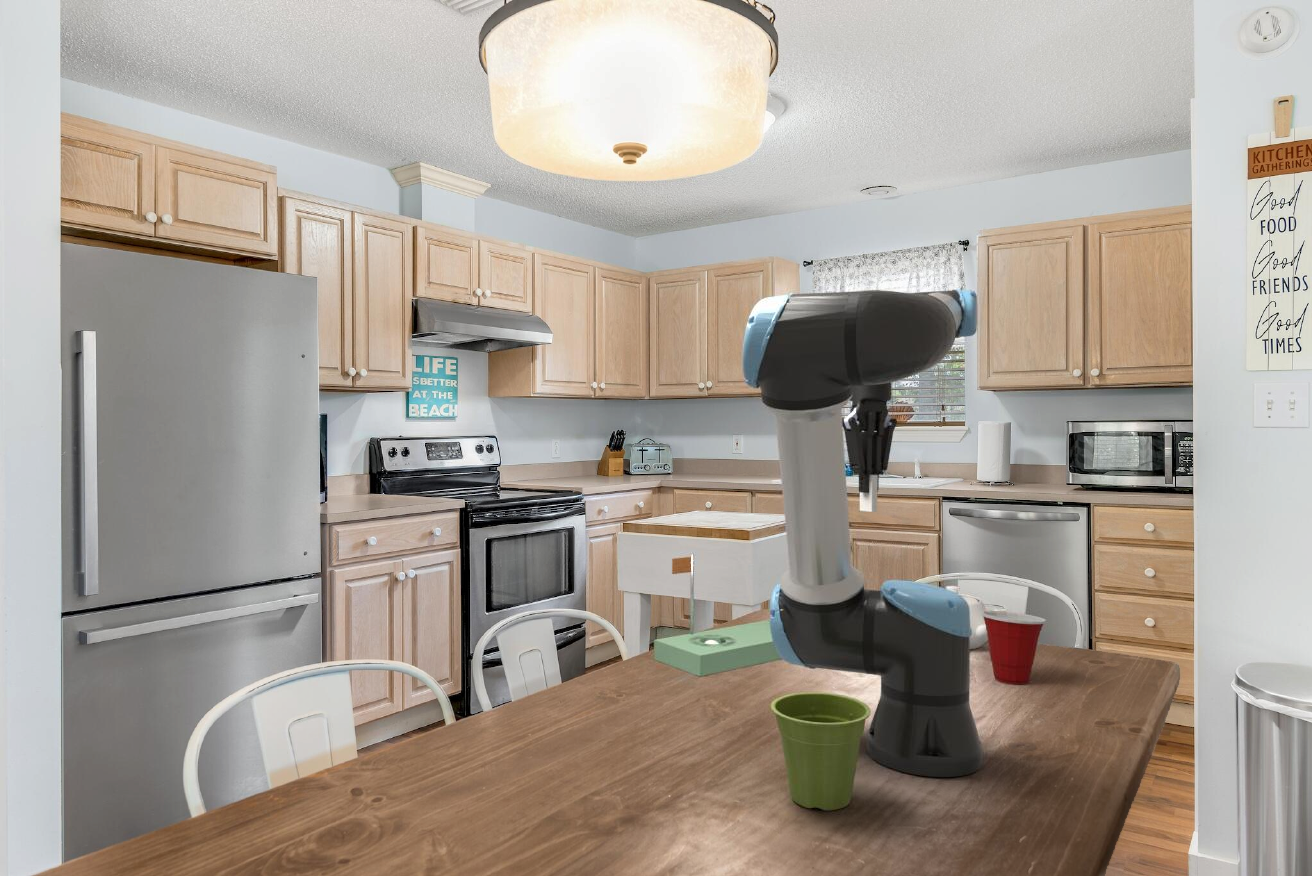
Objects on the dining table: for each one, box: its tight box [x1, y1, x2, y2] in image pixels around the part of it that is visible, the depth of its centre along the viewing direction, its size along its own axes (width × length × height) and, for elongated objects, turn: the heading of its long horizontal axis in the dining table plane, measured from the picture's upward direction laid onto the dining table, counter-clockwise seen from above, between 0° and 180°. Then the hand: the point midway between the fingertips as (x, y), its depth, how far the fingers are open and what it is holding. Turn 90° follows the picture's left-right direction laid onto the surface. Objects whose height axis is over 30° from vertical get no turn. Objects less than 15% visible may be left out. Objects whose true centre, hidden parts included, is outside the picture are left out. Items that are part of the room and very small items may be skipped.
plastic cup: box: [982, 610, 1047, 686], centre depth 154 cm, size 11×11×12 cm
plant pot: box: [770, 691, 871, 812], centre depth 103 cm, size 12×12×11 cm
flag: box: [671, 553, 695, 635], centre depth 169 cm, size 5×1×16 cm, turn 127°
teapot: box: [945, 585, 1009, 650], centre depth 179 cm, size 25×16×12 cm, turn 30°
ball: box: [705, 640, 719, 644], centre depth 165 cm, size 4×4×4 cm
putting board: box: [653, 619, 783, 677], centre depth 169 cm, size 32×14×4 cm, turn 127°
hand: (868, 510), depth 153 cm, fingers closed
